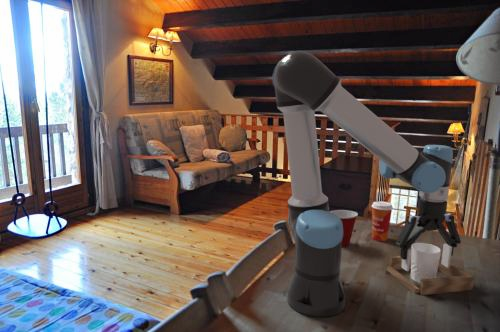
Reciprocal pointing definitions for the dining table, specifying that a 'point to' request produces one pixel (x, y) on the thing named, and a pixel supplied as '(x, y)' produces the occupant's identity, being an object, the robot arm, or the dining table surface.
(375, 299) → the dining table surface
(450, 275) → the bay
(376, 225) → the paper cup
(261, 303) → the dining table surface
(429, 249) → the white cup
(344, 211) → the plastic cup
